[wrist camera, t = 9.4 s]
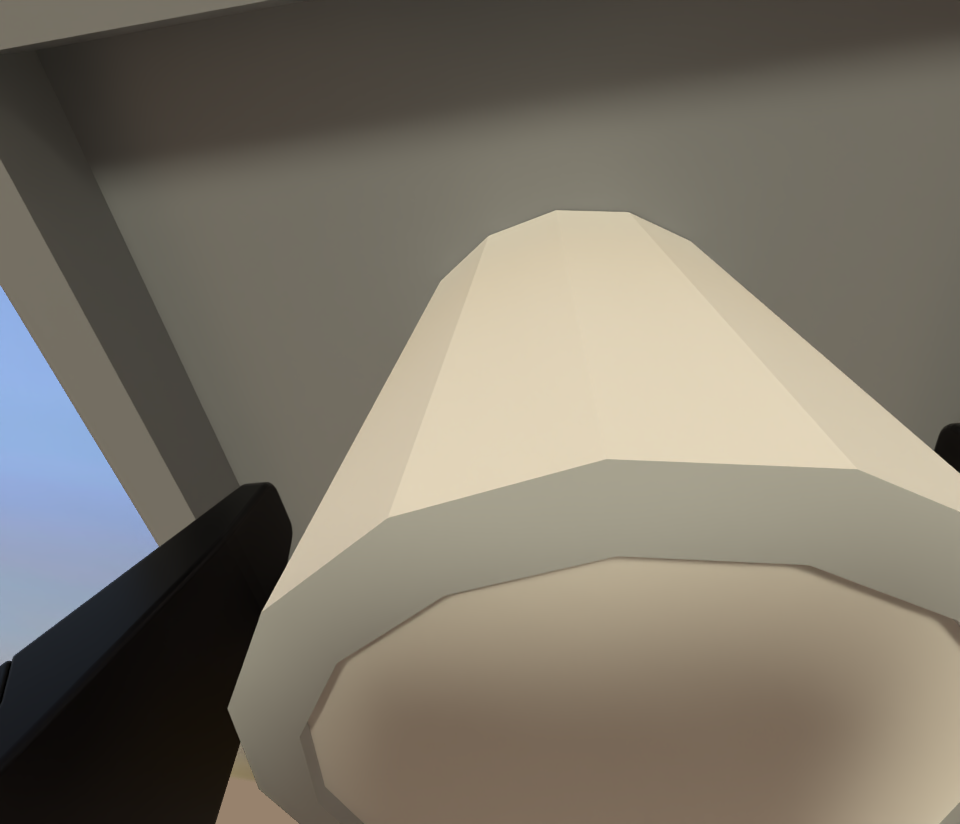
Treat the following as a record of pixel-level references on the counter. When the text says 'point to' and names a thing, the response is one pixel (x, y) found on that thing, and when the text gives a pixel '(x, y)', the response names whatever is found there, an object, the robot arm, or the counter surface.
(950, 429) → the robot arm
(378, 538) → the cream cup
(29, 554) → the counter surface
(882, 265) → the tray
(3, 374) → the counter surface
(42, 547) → the counter surface
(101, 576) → the counter surface
